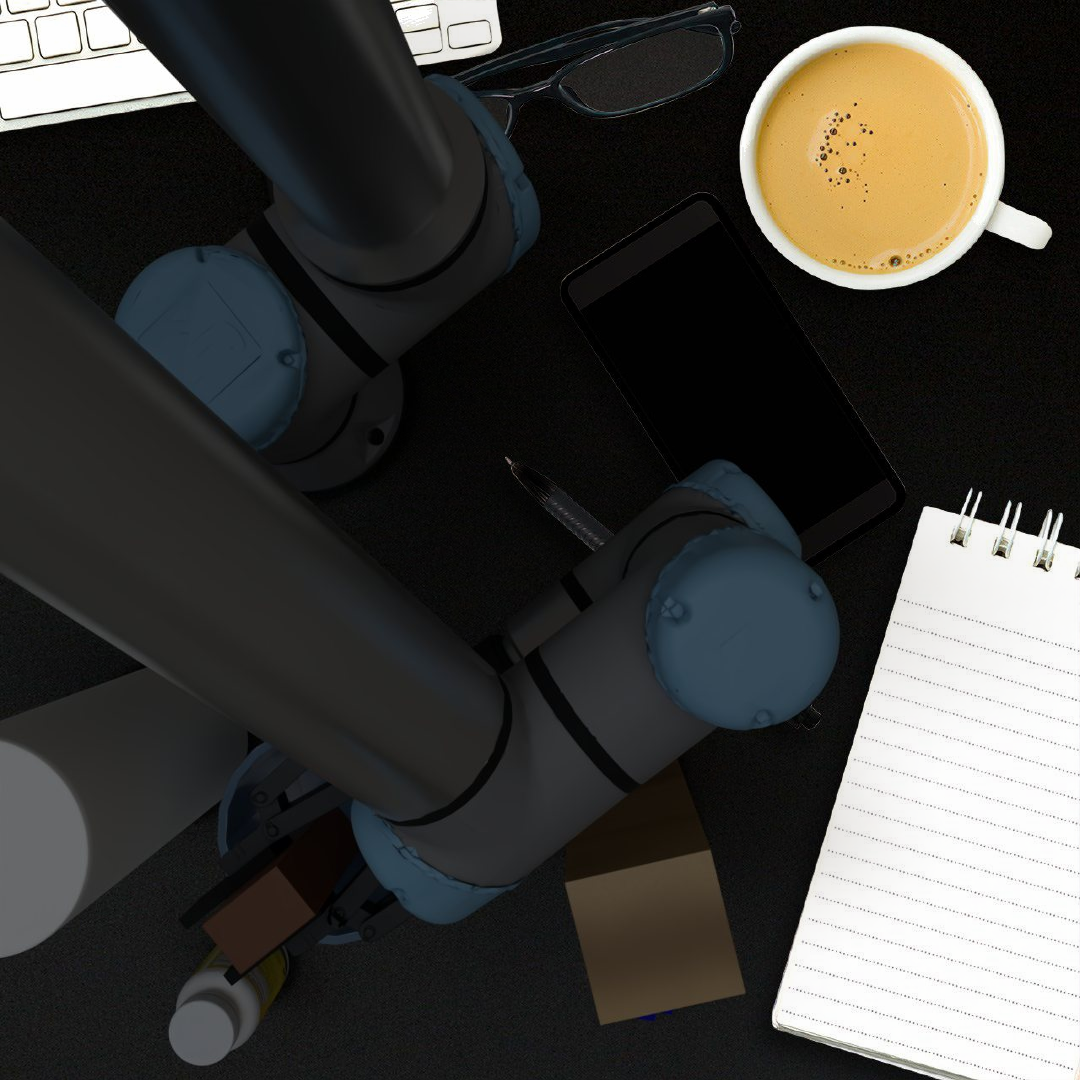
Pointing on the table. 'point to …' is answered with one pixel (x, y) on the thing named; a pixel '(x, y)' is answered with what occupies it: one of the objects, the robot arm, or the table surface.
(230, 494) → the robot arm
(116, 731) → the cylinder
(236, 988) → the pill bottle
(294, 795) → the bin
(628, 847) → the stand
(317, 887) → the chocolate box
